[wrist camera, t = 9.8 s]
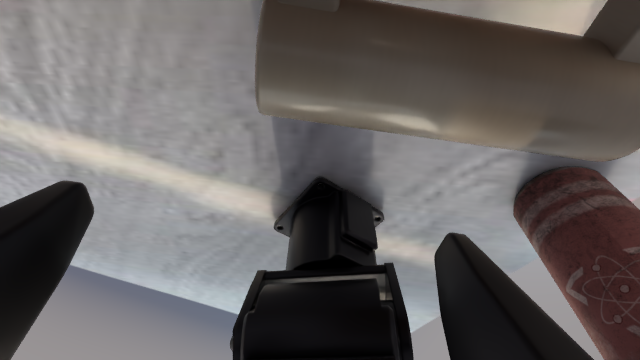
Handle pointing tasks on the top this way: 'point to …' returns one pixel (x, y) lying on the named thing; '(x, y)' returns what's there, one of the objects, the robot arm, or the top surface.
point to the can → (588, 252)
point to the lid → (454, 76)
